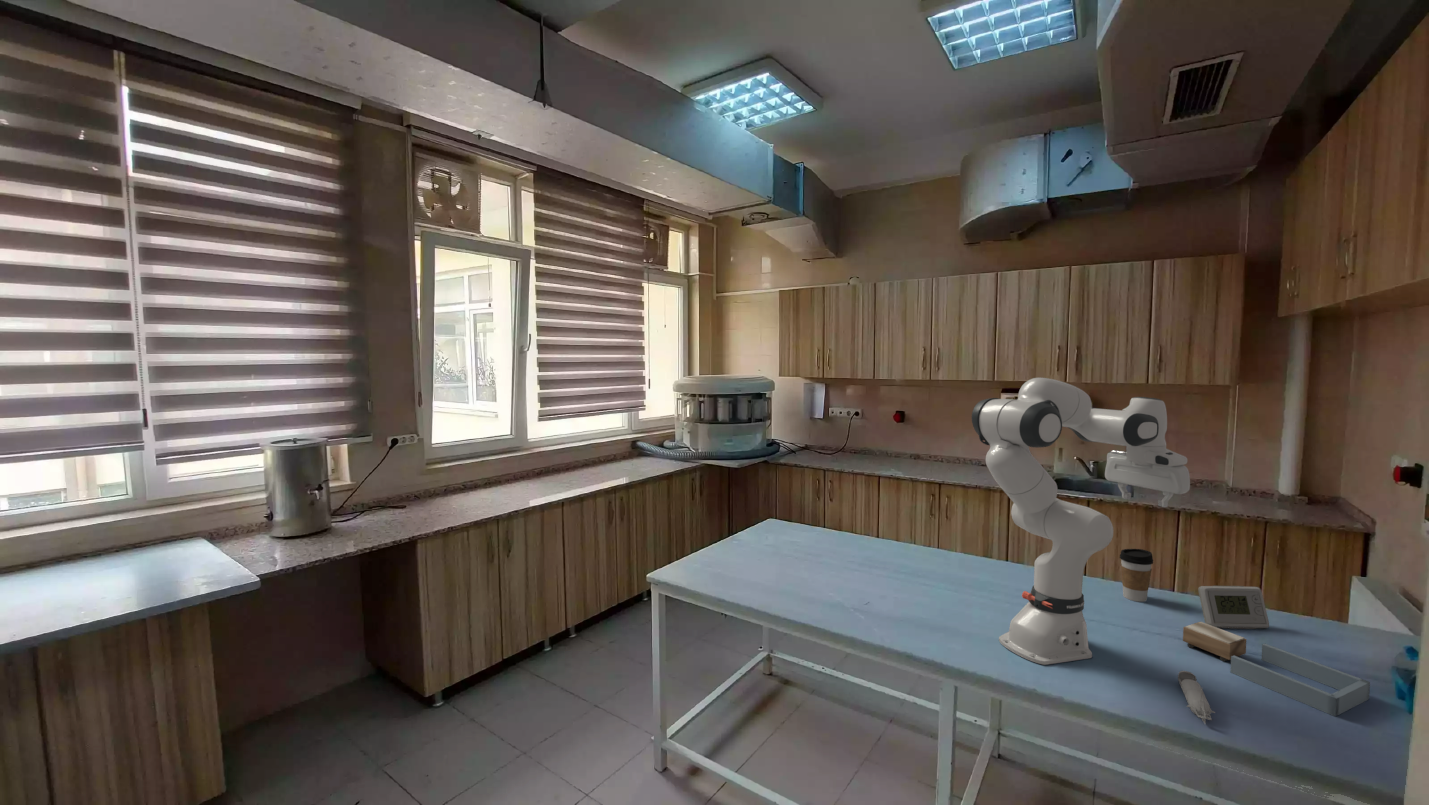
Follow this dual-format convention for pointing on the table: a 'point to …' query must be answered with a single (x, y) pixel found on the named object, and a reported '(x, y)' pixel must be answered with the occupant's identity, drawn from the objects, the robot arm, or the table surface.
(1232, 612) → the digital clock
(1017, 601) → the table surface
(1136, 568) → the coffee cup
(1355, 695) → the bay
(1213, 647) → the tan block
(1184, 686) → the torpedo
